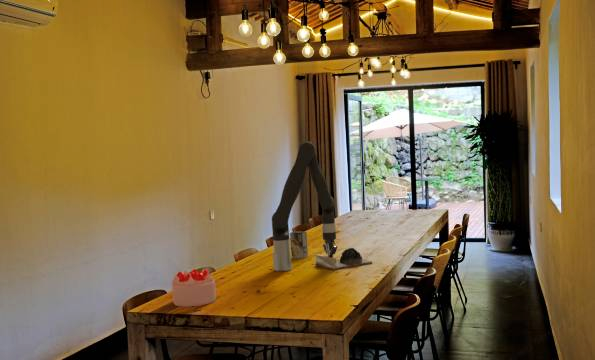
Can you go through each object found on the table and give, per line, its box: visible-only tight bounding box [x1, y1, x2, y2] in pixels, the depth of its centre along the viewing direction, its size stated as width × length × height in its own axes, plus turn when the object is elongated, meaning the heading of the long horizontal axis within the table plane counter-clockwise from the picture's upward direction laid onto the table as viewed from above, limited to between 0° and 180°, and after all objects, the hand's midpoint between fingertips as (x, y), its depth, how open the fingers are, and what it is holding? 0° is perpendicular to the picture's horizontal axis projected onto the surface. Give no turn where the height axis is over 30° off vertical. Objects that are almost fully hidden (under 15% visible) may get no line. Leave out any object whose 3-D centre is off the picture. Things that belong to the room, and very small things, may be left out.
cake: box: [171, 268, 217, 308], centre depth 282 cm, size 20×20×14 cm
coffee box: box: [289, 231, 309, 259], centre depth 381 cm, size 9×6×16 cm
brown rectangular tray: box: [315, 253, 373, 271], centre depth 348 cm, size 26×20×6 cm
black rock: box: [339, 247, 363, 264], centre depth 349 cm, size 13×14×10 cm
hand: (330, 261), depth 344 cm, fingers closed
